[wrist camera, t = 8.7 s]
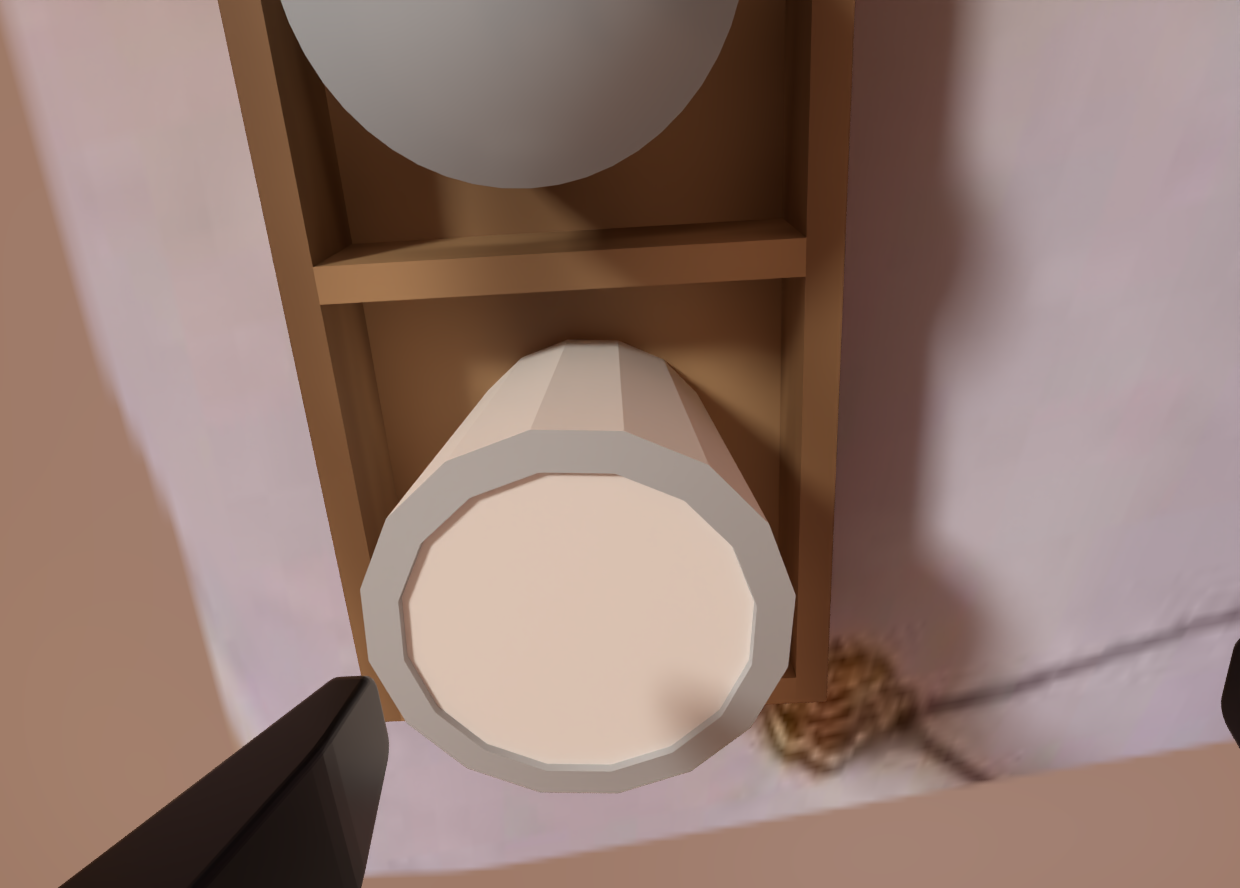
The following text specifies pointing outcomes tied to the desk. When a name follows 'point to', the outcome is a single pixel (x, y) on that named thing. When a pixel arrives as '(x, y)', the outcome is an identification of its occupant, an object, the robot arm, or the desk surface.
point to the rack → (571, 281)
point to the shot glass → (580, 581)
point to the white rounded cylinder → (513, 78)
